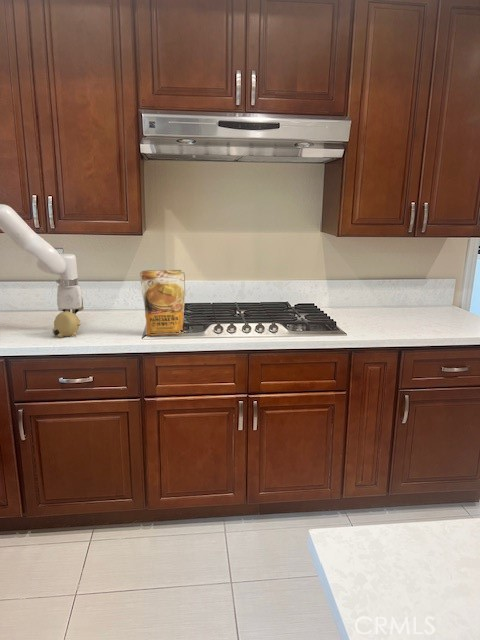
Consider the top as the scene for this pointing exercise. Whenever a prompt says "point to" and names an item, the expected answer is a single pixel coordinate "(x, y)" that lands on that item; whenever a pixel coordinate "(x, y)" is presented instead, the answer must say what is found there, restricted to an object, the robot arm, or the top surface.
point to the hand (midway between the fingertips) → (72, 323)
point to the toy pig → (66, 324)
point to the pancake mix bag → (163, 301)
